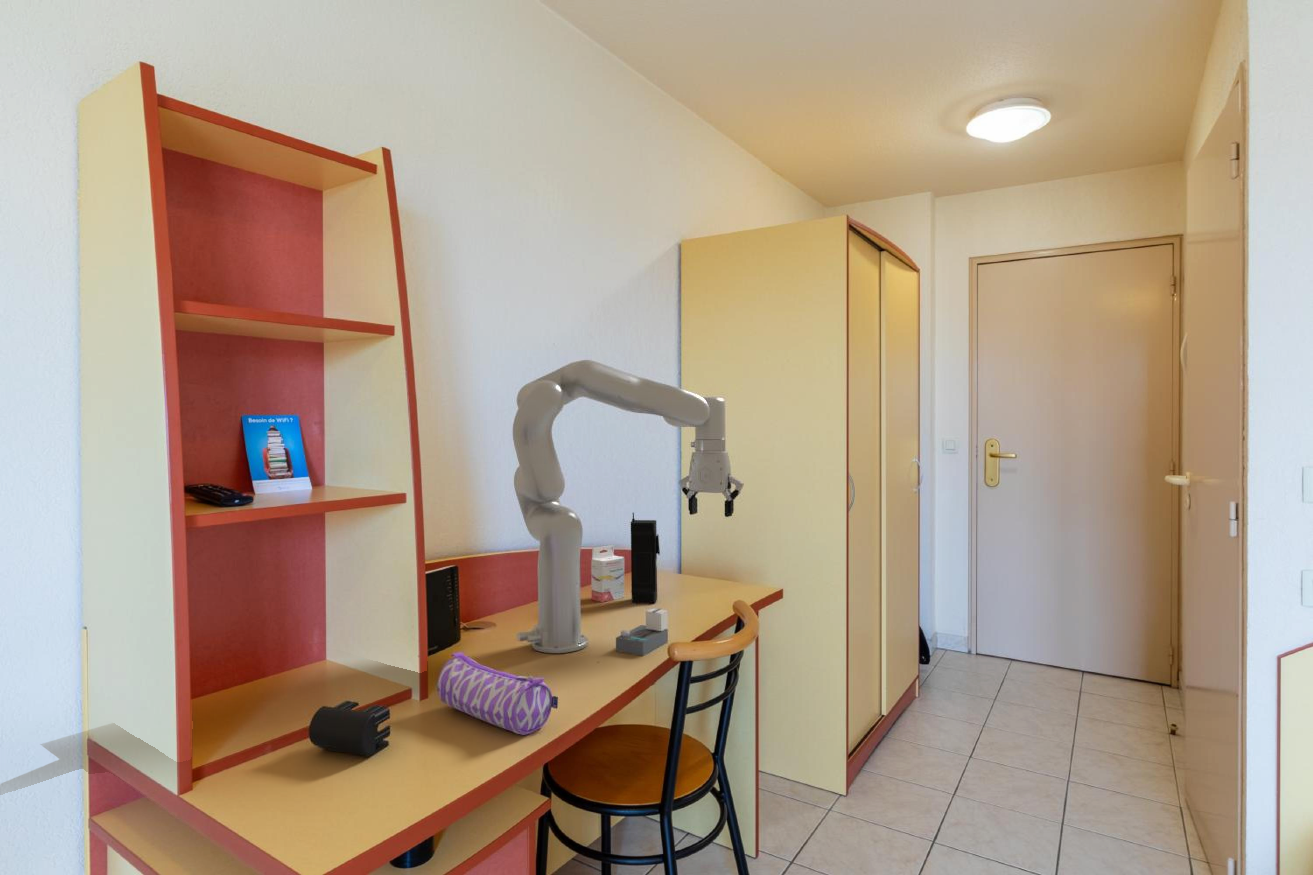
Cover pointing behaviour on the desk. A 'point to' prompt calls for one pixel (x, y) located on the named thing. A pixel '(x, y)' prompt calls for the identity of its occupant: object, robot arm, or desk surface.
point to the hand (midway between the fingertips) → (710, 515)
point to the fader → (656, 619)
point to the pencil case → (495, 695)
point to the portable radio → (644, 561)
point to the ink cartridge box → (606, 574)
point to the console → (640, 640)
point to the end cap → (350, 729)
